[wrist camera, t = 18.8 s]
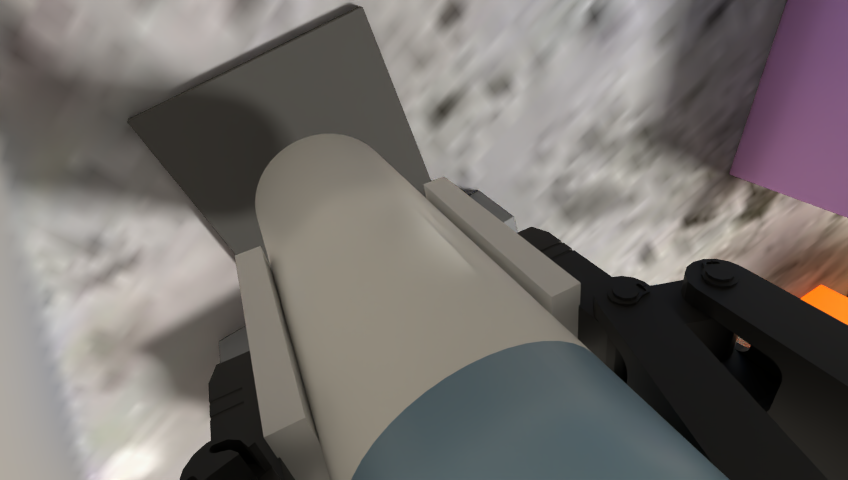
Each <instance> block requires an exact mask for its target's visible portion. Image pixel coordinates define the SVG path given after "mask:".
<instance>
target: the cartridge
mask: <svg viewBox="0 0 848 480" xmlns="http://www.w3.org/2000/svg"><path fill="white" fill-rule="evenodd" d="M255 208H256V215H257V219H258V223H259V226H260V230H261V234H262V237H263V241H264V244H265V248H266V251H267V255H268V259H269V262H270V266H271V269H272V272H273V276H274V280H275V283H276V287H277V290H278V294H279V298H280V301H281V305H282V308H283V312H284V315H285V319H286V323H287V326H288V330H289V333H290V337H291V341H292V344H293V348H294V351H295V355H296V358H297V362H298V366H299V369H300V373H301V376H302V380H303V384H304V387H305V391H306V394H307V398H308V401H309V405H310V409H311V412H312V416H313V419H314V423H315V427H316V430H317V434H318V437H319V441H320V445H321V449H322V453H323V456H324V460H325V463H326V467H327V471H328V474H329V478H330V480H729V479H728V478H727V477H726V476H725V475H724V474H723V473H722V472H721V471H720V470H719V469H718V468H716V467H715V466H714V465H713V464H712V463H711V462H710V461H709V460H708V459H707V458H706V457H705V456H703V455H702V454H701V453H700V452H699V451H698V450H697V449H696V448H695V447H694V446H693V445H692V444H691V443H689V442H688V441H687V440H686V439H685V438H684V437H683V436H682V435H681V434H680V433H679V432H678V431H677V430H675V429H674V428H673V427H672V426H671V425H670V424H669V423H668V422H667V421H666V420H665V419H664V418H662V417H661V416H660V415H659V414H658V413H657V412H656V411H655V410H654V409H653V408H652V407H651V406H650V405H648V404H647V403H646V402H645V401H644V400H643V399H642V398H641V397H640V396H639V395H638V394H637V393H636V392H634V391H633V390H632V389H631V388H630V387H629V386H628V385H627V384H626V383H625V382H624V381H623V380H621V379H620V378H619V377H618V376H617V375H616V374H615V373H614V372H613V371H612V370H611V369H610V368H609V367H607V366H606V365H605V364H604V363H603V362H602V361H601V360H600V359H599V358H598V357H597V356H596V355H595V354H593V353H592V352H591V351H590V350H589V349H588V348H587V347H586V346H585V345H584V344H583V343H582V342H581V341H579V340H578V339H577V338H576V337H575V336H574V335H573V334H572V333H571V332H570V331H569V330H568V329H566V328H565V327H564V326H563V325H562V324H561V323H560V322H559V321H558V320H557V319H556V318H555V317H554V316H552V315H551V314H550V313H549V312H548V311H547V310H546V309H545V308H544V307H543V306H542V305H541V304H540V303H538V302H537V301H536V300H535V299H534V298H533V297H532V296H531V295H530V294H529V293H528V292H527V291H525V290H524V289H523V288H522V287H521V286H520V285H519V284H518V283H517V282H516V281H515V280H514V279H513V278H511V277H510V276H509V275H508V274H507V273H506V272H505V271H504V270H503V269H502V268H501V267H500V266H499V265H497V264H496V263H495V262H494V261H493V260H492V259H491V258H490V257H489V256H488V255H487V254H486V253H484V252H483V251H482V250H481V249H480V248H479V247H478V246H477V245H476V244H475V243H474V242H473V241H472V240H470V239H469V238H468V237H467V236H466V235H465V234H464V233H463V232H462V231H461V230H460V229H459V228H458V227H456V226H455V225H454V224H453V223H452V222H451V221H450V220H449V219H448V218H447V217H446V216H445V215H443V214H442V213H441V212H440V211H439V210H438V209H437V208H436V207H435V206H434V205H433V204H432V203H431V202H429V201H428V200H427V199H426V198H425V197H424V196H423V195H422V194H421V193H420V192H419V191H418V190H417V189H415V188H414V187H413V186H412V185H411V184H410V183H409V182H408V181H407V180H406V179H405V178H404V177H402V176H401V175H400V174H399V173H398V172H397V171H396V170H395V169H394V168H393V167H392V166H391V165H390V164H388V163H387V162H386V161H385V160H384V159H383V158H382V157H381V156H380V155H379V154H378V153H377V152H376V151H374V150H373V149H372V148H371V147H369V146H368V145H367V144H365V143H363V142H362V141H360V140H358V139H355V138H353V137H349V136H345V135H341V134H318V135H313V136H309V137H306V138H303V139H300V140H298V141H296V142H294V143H292V144H290V145H289V146H287V147H285V148H284V149H283V150H282V151H280V152H279V153H278V154H277V155H276V156H275V157H274V158H273V159H272V160H271V161H270V163H269V164H268V165H267V167H266V168H265V170H264V172H263V174H262V175H261V178H260V180H259V183H258V186H257V190H256V197H255Z"/></svg>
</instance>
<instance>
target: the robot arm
mask: <svg viewBox="0 0 848 480" xmlns="http://www.w3.org/2000/svg"><path fill="white" fill-rule="evenodd" d="M424 189H425V194H426V199H427V200H428V201H429V202H431V203H432V204H433V205H434V206H435V207H436V208H437V209H438V210H439V211H440V212H441V213H442V214H443V215H445V216H446V217H447V218H448V219H449V220H450V221H451V222H452V223H453V224H454V225H455V226H456V227H458V228H459V229H460V230H461V231H462V232H463V233H464V234H465V235H466V236H467V237H468V238H469V239H470V240H472V241H473V242H474V243H475V244H476V245H477V246H478V247H479V248H480V249H481V250H482V251H483V252H484V253H486V254H487V255H488V256H489V257H490V258H491V259H492V260H493V261H494V262H495V263H496V264H497V265H499V266H500V267H501V268H502V269H503V270H504V271H505V272H506V273H507V274H508V275H509V276H510V277H511V278H513V279H514V280H515V281H516V282H517V283H518V284H519V285H520V286H521V287H522V288H523V289H524V290H525V291H527V292H528V293H529V294H530V295H531V296H532V297H533V298H534V299H535V300H536V301H537V302H538V303H540V304H541V305H542V306H543V307H544V308H545V309H546V310H547V311H548V312H549V313H550V314H551V315H552V316H554V317H555V318H556V319H557V320H558V321H559V322H560V323H561V324H562V325H563V326H564V327H565V328H566V329H568V330H569V331H570V332H571V333H572V334H573V335H574V336H575V337H576V338H577V339H578V340H579V341H581V342H582V343H583V344H584V345H585V346H586V347H587V348H588V349H589V350H590V351H591V352H592V353H593V354H595V355H596V356H597V357H598V358H599V359H600V360H601V361H602V362H603V363H604V364H605V365H606V366H607V367H609V368H610V369H611V370H612V371H613V372H614V373H615V374H616V375H617V376H618V377H619V378H620V379H621V380H623V381H624V382H625V383H626V384H627V385H628V386H629V387H630V388H631V389H632V390H633V391H634V392H636V393H637V394H638V395H639V396H640V397H641V398H642V399H643V400H644V401H645V402H646V403H647V404H648V405H650V406H651V407H652V408H653V409H654V410H655V411H656V412H657V413H658V414H659V415H660V416H661V417H662V418H664V419H665V420H666V421H667V422H668V423H669V424H670V425H671V426H672V427H673V428H674V429H675V430H677V431H678V432H679V433H680V434H681V435H682V436H683V437H684V438H685V439H686V440H687V441H688V442H689V443H691V444H692V445H693V446H694V447H695V448H696V449H697V450H698V451H699V452H700V453H701V454H702V455H703V456H705V457H706V458H707V459H708V460H709V461H710V462H711V463H712V464H713V465H714V466H715V467H716V468H718V469H719V470H720V471H721V472H722V473H723V474H724V475H725V476H726V477H727V478H728V479H729V480H848V325H847V324H845V323H843V322H841V321H840V320H838V319H836V318H834V317H832V316H831V315H829V314H827V313H825V312H823V311H821V310H820V309H818V308H816V307H814V306H812V305H810V304H809V303H807V302H805V301H803V300H801V299H800V298H798V297H796V296H794V295H792V294H790V293H789V292H787V291H785V290H783V289H781V288H779V287H778V286H776V285H774V284H772V283H770V282H769V281H767V280H765V279H763V278H761V277H759V276H758V275H756V274H754V273H752V272H750V271H748V270H747V269H745V268H743V267H741V266H739V265H736V264H734V263H731V262H729V261H724V260H718V259H702V260H699V261H695V262H693V263H691V264H690V265H689V266H688V267H687V268H686V271H685V275H684V280H681V281H675V282H670V283H665V284H659V285H653V286H649V285H648V284H647V283H645V282H643V281H641V280H638V279H636V278H632V277H624V276H618V277H611V276H610V275H608V274H607V273H606V272H604V271H603V270H601V269H600V268H598V267H597V266H596V265H594V264H593V263H591V262H590V261H589V260H587V259H586V258H584V257H583V256H581V255H580V254H579V253H577V252H576V251H572V248H570V247H569V246H567V245H566V244H565V243H562V242H561V241H560V240H559V239H557V238H556V237H555V236H553V235H552V234H550V233H549V232H546V231H543V230H540V229H537V228H534V227H530V228H527V229H525V230H523V231H520V232H518V233H516V232H515V231H513V230H512V229H511V228H510V227H508V226H507V225H506V224H504V223H503V222H502V221H501V220H499V219H498V218H497V217H495V216H494V215H493V214H492V213H490V212H489V211H488V210H486V209H485V208H484V207H483V206H481V205H480V204H479V203H477V202H476V201H475V200H474V199H472V198H471V197H470V196H469V195H467V194H466V193H465V192H463V191H462V190H461V189H460V188H458V187H457V186H456V185H454V184H453V183H452V182H451V181H449V180H448V179H447V178H445V177H441V178H439V179H436V180H433V181H431V182H428V183H425V184H424ZM235 261H236V267H237V273H238V279H239V286H240V292H241V298H242V304H243V311H244V317H245V323H246V330H247V336H248V342H249V348H250V351H247V352H245V353H243V354H240V355H238V356H236V357H234V358H231V359H229V360H227V361H224V362H222V363H220V364H217V365H216V368H215V370H214V372H213V375H212V377H211V379H210V382H209V402H210V418H211V420H210V428H211V441H210V442H208V443H206V444H205V445H204V446H203V447H202V448H201V449H199V450H198V451H197V452H196V453H195V454H194V455H193V456H192V457H191V459H190V460H189V462H188V463H187V465H186V466H185V468H184V469H183V471H182V474H181V477H180V480H330V478H329V474H328V471H327V467H326V463H325V460H324V456H323V453H322V449H321V445H320V441H319V437H318V434H317V430H316V427H315V423H314V419H313V416H312V412H311V409H310V405H309V401H308V398H307V394H306V391H305V387H304V384H303V380H302V376H301V373H300V369H299V366H298V362H297V358H296V355H295V351H294V348H293V344H292V341H291V337H290V333H289V330H288V326H287V323H286V319H285V315H284V312H283V308H282V305H281V301H280V298H279V294H278V290H277V287H276V283H275V280H274V276H273V272H272V269H271V267H270V265H269V263H268V261H267V259H266V257H265V255H264V252H263V250H262V248H261V246H259V247H256V248H254V249H251V250H248V251H246V252H243V253H240V254H238V255H235ZM738 336H739V337H740V338H742V339H743V340H745V341H746V342H748V343H749V344H751V346H750V348H748V347H744V346H742V345H740V344H739V343H737V339H738Z"/></svg>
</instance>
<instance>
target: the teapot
mask: <svg viewBox="0 0 848 480" xmlns="http://www.w3.org/2000/svg"><path fill="white" fill-rule="evenodd" d="M729 174H730V175H733V176H735V177H738V178H741V179H744V180H746V181H749V182H752V183H754V184H757V185H760V186H763V187H765V188H768V189H771V190H773V191H776V192H779V193H782V194H784V195H787V196H790V197H792V198H795V199H798V200H801V201H803V202H806V203H809V204H812V205H814V206H817V207H820V208H822V209H825V210H828V211H831V212H833V213H836V214H839V215H841V216H844V217H847V218H848V0H787V2H786V5H785V8H784V11H783V14H782V17H781V20H780V23H779V26H778V29H777V32H776V35H775V38H774V41H773V44H772V47H771V50H770V53H769V56H768V59H767V62H766V65H765V68H764V71H763V74H762V77H761V80H760V83H759V86H758V89H757V92H756V95H755V98H754V101H753V104H752V107H751V110H750V113H749V116H748V119H747V122H746V125H745V128H744V131H743V134H742V137H741V140H740V143H739V146H738V149H737V151H736V154H735V157H734V160H733V163H732V166H731V169H730V172H729Z"/></svg>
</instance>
